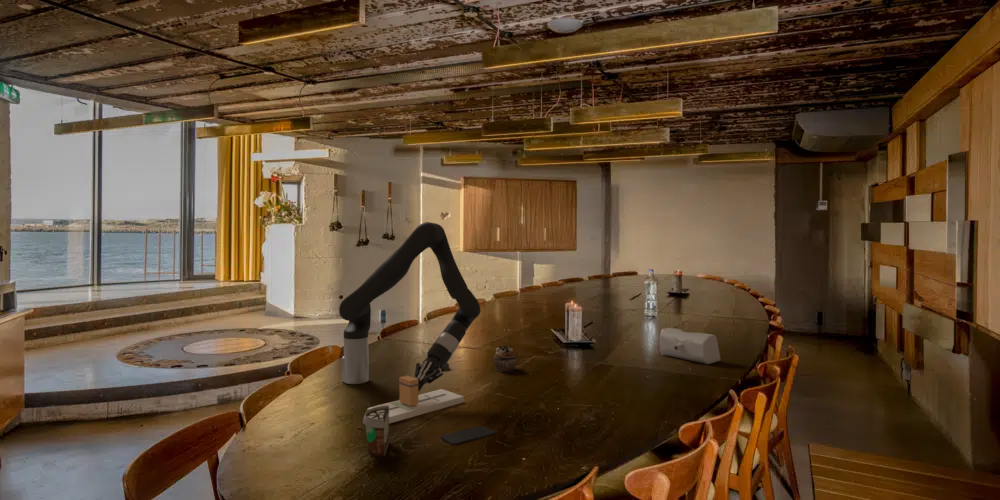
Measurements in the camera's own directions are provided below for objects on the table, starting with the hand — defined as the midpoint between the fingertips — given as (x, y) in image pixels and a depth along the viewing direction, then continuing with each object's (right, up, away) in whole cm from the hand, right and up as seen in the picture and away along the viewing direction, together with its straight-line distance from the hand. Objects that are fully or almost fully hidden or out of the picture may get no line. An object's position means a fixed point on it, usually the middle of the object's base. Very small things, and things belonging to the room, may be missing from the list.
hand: (414, 391), depth 181 cm
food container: (-5, -7, -33) cm, 34 cm away
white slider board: (+1, -6, +1) cm, 6 cm away
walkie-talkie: (+2, -4, +51) cm, 51 cm away
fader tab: (-1, -3, -2) cm, 4 cm away
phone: (+19, -7, -23) cm, 31 cm away
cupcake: (+30, -4, +50) cm, 59 cm away
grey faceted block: (+112, -3, +69) cm, 132 cm away
